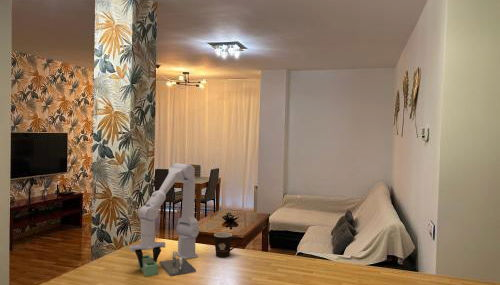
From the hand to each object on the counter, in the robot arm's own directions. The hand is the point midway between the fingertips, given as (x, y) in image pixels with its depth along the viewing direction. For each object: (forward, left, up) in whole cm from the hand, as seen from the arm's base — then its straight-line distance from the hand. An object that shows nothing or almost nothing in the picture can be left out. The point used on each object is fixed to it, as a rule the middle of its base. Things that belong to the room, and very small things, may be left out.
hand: (147, 266), depth 166 cm
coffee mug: (-2, +37, -2) cm, 37 cm away
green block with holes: (0, 0, -2) cm, 2 cm away
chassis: (+3, +12, -2) cm, 12 cm away
